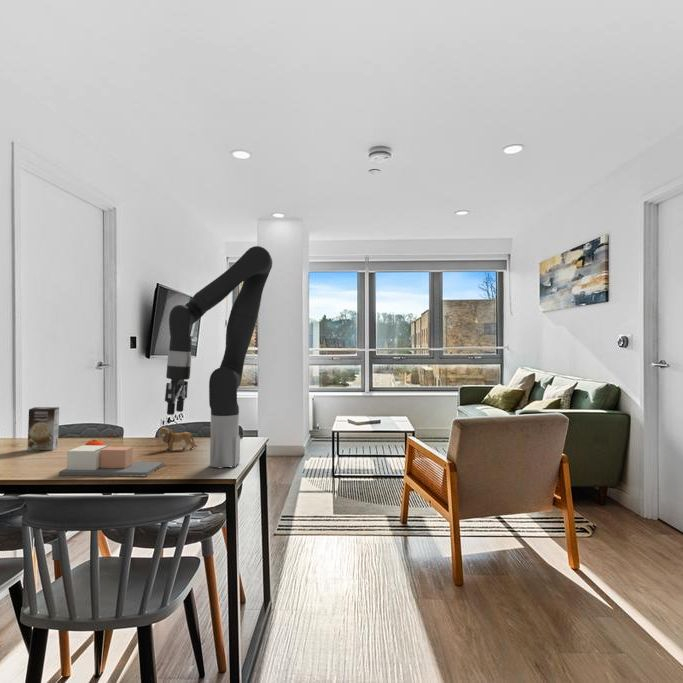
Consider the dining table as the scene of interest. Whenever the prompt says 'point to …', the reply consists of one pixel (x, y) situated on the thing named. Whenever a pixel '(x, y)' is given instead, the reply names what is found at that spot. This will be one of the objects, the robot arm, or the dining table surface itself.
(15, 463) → the dining table surface
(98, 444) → the clementine
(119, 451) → the stub
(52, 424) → the coffee box
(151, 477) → the dining table surface
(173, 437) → the lion figurine
